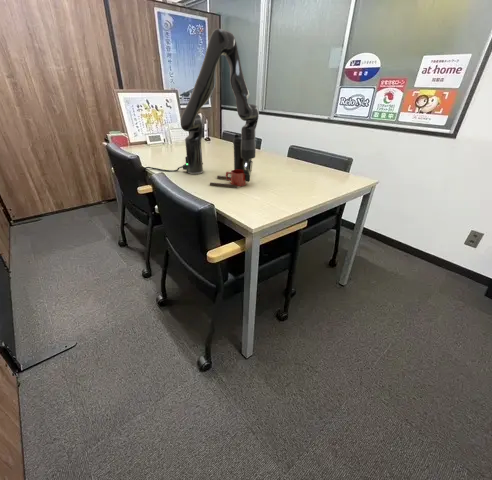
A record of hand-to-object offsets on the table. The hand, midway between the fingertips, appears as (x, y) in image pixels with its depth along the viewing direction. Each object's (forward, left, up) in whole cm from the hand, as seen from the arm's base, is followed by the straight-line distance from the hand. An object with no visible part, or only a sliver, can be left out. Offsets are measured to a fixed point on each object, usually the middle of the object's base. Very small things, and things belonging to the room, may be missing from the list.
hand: (247, 181), depth 143 cm
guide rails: (-12, 0, -2) cm, 12 cm away
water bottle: (-8, +19, -2) cm, 21 cm away
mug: (-7, 0, -2) cm, 7 cm away
